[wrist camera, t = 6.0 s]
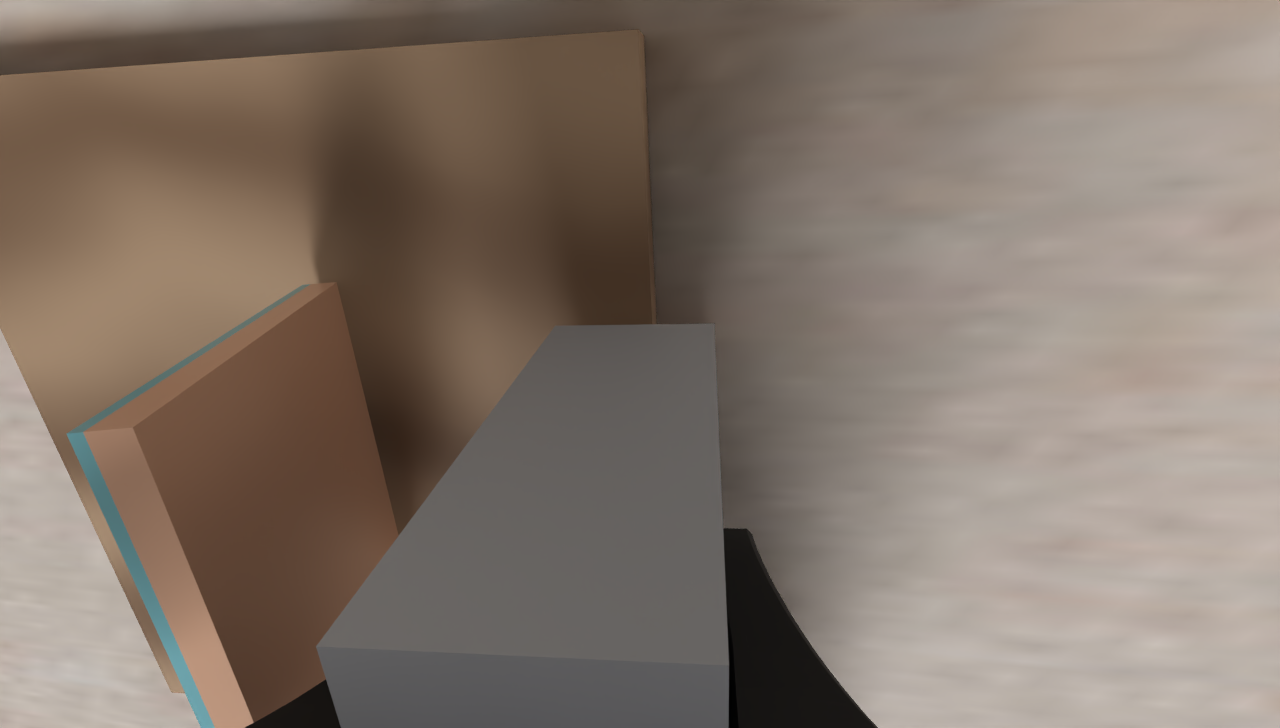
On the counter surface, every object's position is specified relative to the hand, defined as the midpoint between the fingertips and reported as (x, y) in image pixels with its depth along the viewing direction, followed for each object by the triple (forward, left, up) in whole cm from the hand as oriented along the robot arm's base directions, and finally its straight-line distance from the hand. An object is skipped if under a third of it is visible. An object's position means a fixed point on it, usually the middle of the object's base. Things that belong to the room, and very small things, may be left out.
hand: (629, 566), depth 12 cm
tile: (0, +7, 0) cm, 7 cm away
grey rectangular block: (0, 0, -3) cm, 3 cm away
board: (0, +9, -6) cm, 10 cm away
